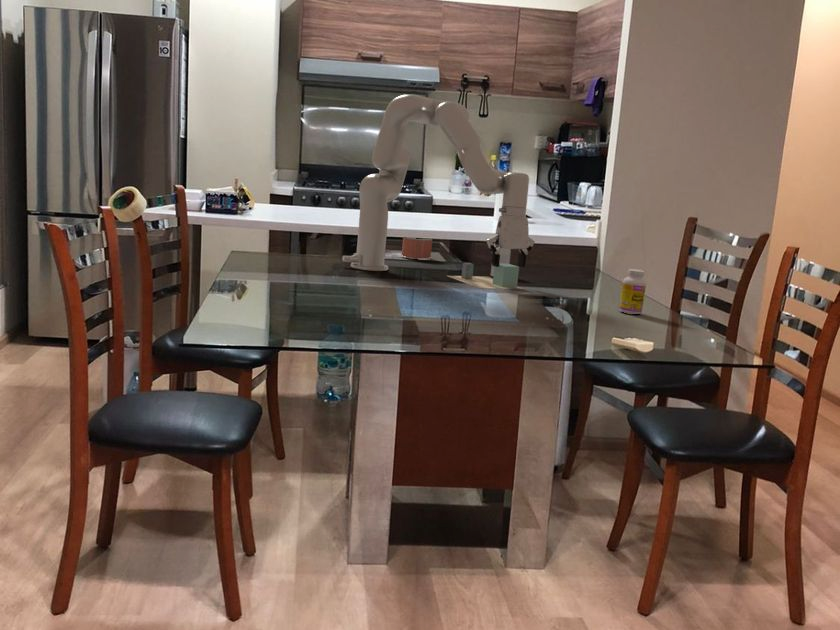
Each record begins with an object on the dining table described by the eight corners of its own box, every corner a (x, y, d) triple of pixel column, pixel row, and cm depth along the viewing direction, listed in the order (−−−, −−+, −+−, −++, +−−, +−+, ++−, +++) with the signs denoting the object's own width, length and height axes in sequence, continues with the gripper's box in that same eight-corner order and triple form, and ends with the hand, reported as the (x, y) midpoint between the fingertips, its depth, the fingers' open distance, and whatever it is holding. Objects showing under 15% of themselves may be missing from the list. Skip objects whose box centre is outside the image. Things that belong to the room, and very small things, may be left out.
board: (480, 292, 271) (480, 288, 271) (445, 279, 290) (445, 275, 290) (523, 292, 278) (523, 288, 278) (486, 280, 297) (487, 276, 297)
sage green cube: (501, 287, 277) (504, 266, 276) (492, 283, 282) (494, 263, 280) (516, 287, 280) (519, 266, 278) (507, 284, 284) (509, 264, 283)
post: (465, 279, 286) (466, 264, 285) (461, 277, 288) (462, 262, 287) (472, 279, 287) (473, 264, 286) (468, 278, 289) (469, 262, 288)
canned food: (412, 255, 344) (415, 224, 342) (436, 259, 338) (439, 228, 336) (395, 256, 335) (398, 225, 333) (419, 261, 329) (422, 229, 327)
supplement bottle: (628, 315, 255) (635, 271, 253) (613, 310, 261) (619, 268, 258) (646, 315, 258) (652, 272, 256) (631, 310, 264) (637, 268, 262)
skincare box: (507, 279, 304) (511, 245, 302) (507, 281, 300) (511, 246, 297) (490, 277, 304) (493, 243, 302) (489, 279, 300) (493, 244, 298)
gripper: (496, 212, 269) (491, 268, 272) (543, 214, 277) (537, 268, 280) (483, 210, 275) (479, 264, 278) (529, 212, 283) (524, 265, 287)
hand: (508, 266), depth 279 cm, fingers open, 9 cm apart
